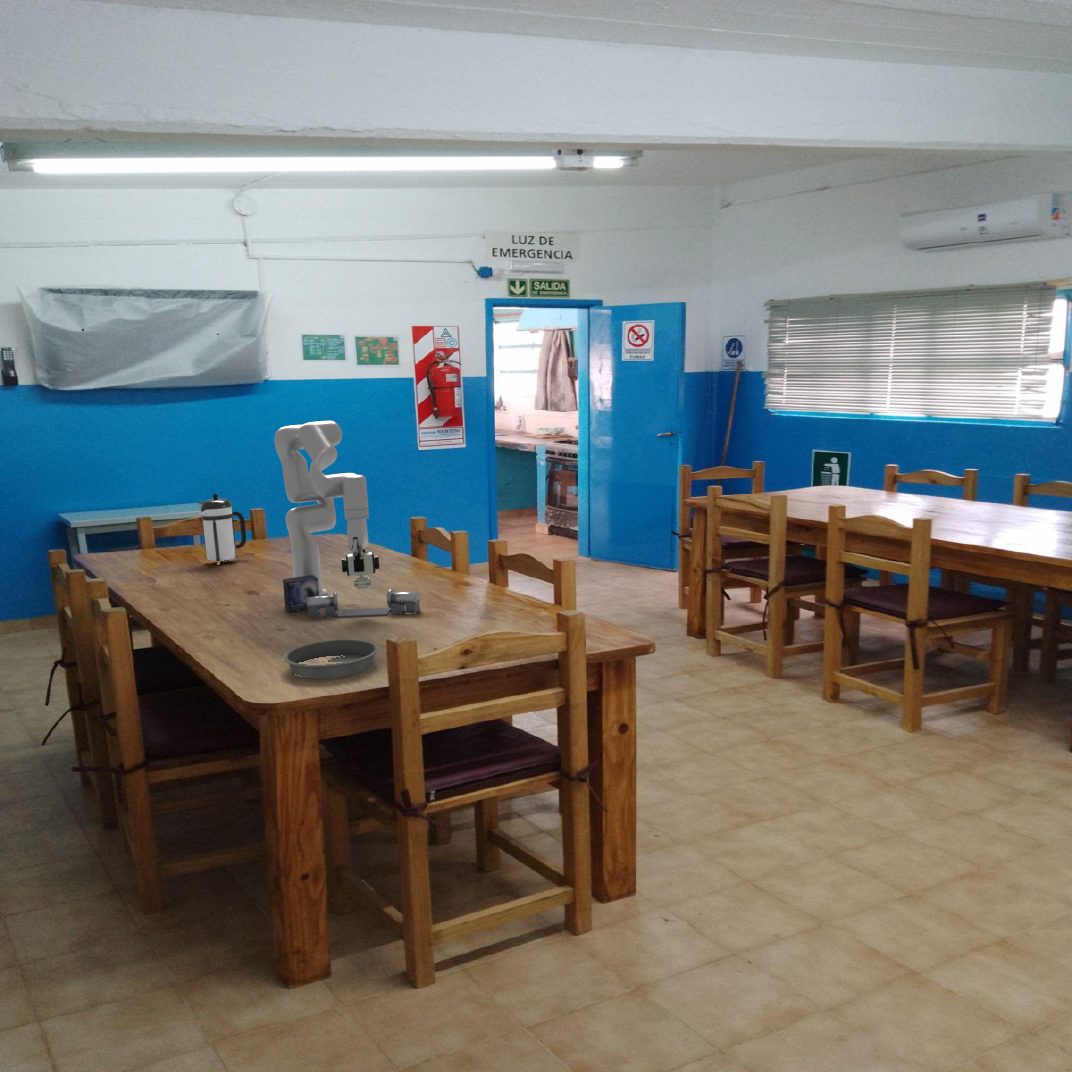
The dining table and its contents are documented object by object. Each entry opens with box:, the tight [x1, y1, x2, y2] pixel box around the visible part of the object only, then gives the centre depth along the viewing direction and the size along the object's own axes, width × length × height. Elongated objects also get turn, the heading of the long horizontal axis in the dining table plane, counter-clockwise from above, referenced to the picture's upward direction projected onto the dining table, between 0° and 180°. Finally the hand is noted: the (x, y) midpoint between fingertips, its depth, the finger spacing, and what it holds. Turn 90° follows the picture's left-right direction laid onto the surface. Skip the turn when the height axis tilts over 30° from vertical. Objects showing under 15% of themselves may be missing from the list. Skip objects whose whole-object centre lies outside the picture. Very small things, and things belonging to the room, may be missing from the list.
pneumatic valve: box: [340, 551, 380, 590], centre depth 330 cm, size 6×12×12 cm, turn 99°
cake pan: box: [283, 639, 379, 680], centre depth 273 cm, size 25×25×4 cm
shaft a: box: [307, 591, 339, 619], centre depth 332 cm, size 9×6×8 cm, turn 98°
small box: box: [282, 575, 319, 613], centre depth 344 cm, size 11×6×10 cm, turn 117°
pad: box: [336, 606, 391, 619], centre depth 333 cm, size 16×9×1 cm, turn 88°
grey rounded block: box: [386, 588, 421, 615], centre depth 331 cm, size 9×6×8 cm, turn 78°
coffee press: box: [199, 492, 247, 562], centre depth 439 cm, size 17×16×30 cm
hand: (361, 569), depth 330 cm, fingers closed on pneumatic valve, 5 cm apart
